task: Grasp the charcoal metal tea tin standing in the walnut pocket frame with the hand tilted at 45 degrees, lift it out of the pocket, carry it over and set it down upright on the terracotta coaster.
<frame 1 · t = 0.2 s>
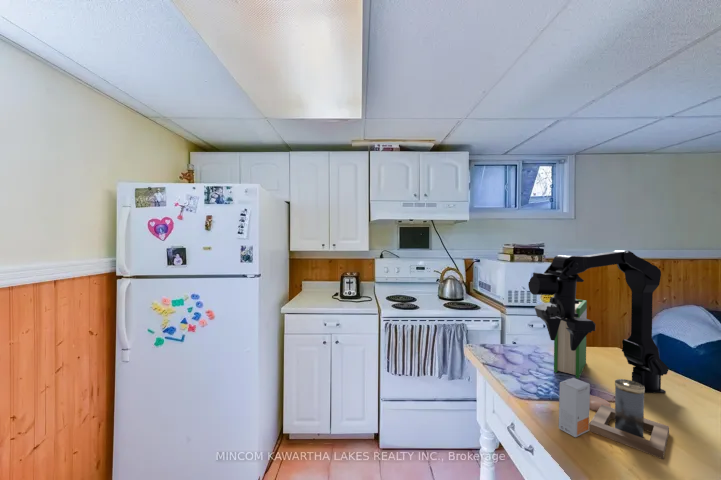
hand: (562, 345, 99), 14 cm above the table, tool pointing down, fingers open, 9 cm apart
skincare box: (574, 430, 79), on the table
tea tin: (629, 408, 78), in the pocket frame
coaster: (593, 404, 91), on the table
pocket frame: (628, 432, 78), on the table
hardback book: (570, 367, 117), on the table
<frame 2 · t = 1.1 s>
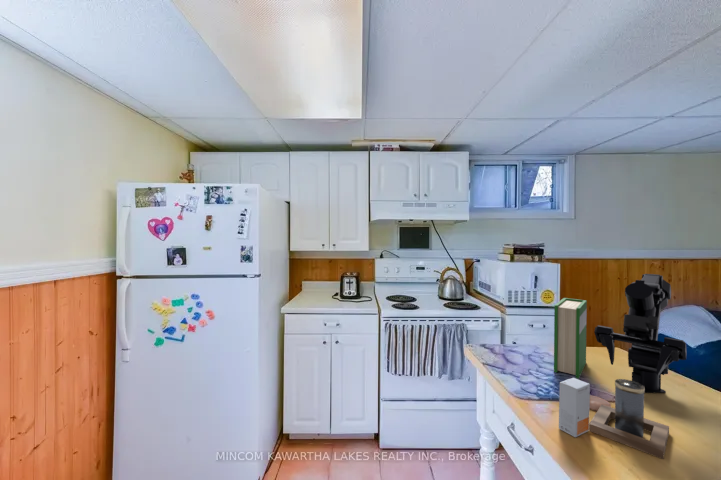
hand: (633, 369, 83), 13 cm above the table, tool tilted 45°, fingers open, 9 cm apart
nothing on the table moved.
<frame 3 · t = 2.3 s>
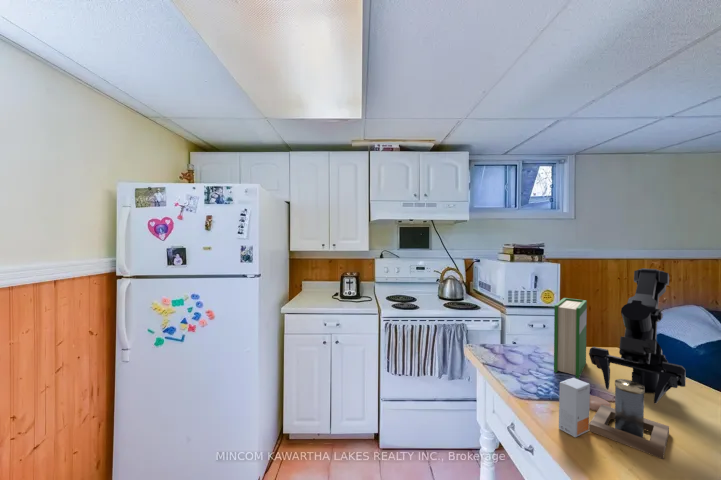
hand: (629, 395, 79), 9 cm above the table, tool tilted 45°, fingers open, 9 cm apart
nothing on the table moved.
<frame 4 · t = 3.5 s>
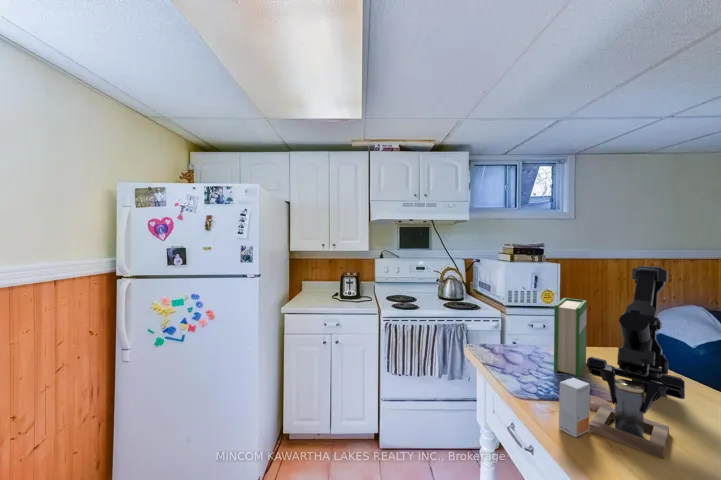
hand: (628, 407, 77), 7 cm above the table, tool tilted 45°, fingers closed on tea tin, 5 cm apart
tea tin: (629, 408, 78), in the pocket frame, touching gripper
everything else where it was.
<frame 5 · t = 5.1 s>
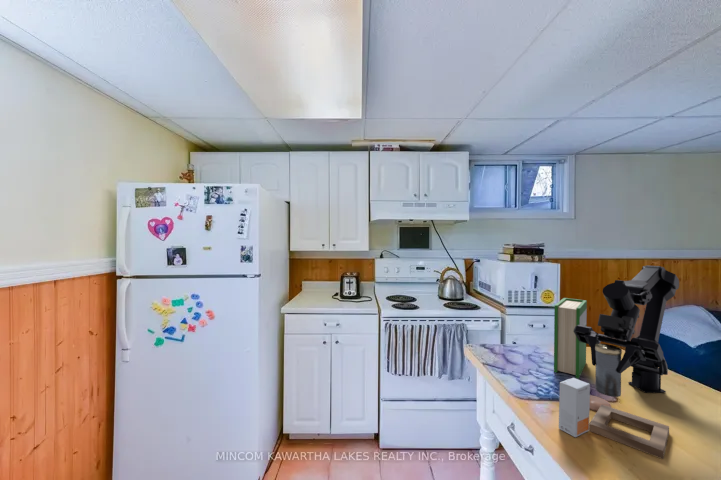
hand: (605, 368, 84), 13 cm above the table, tool tilted 45°, fingers closed on tea tin, 5 cm apart
tea tin: (608, 369, 85), point 13 cm above the table, touching gripper
everything else where it was.
when the fingers open (8 cm above the table, at t = 7.0 s): tea tin stays where it is, resting on coaster.
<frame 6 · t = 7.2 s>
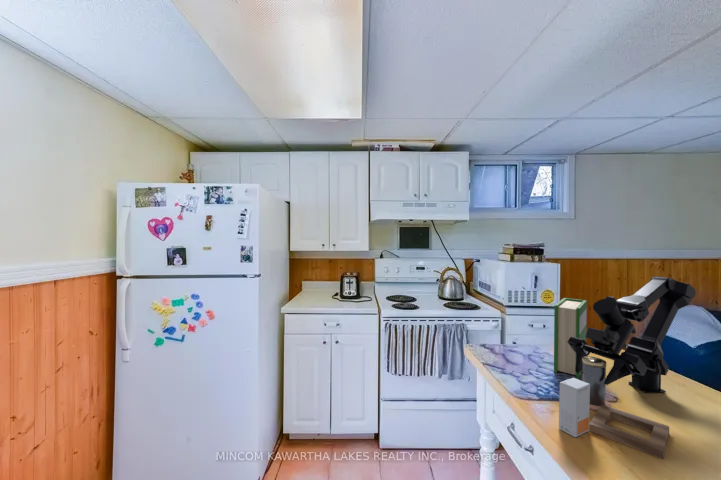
hand: (590, 377, 91), 8 cm above the table, tool tilted 45°, fingers open, 8 cm apart
tea tin: (593, 380, 91), on the coaster, point 7 cm above the table
everything else where it was.
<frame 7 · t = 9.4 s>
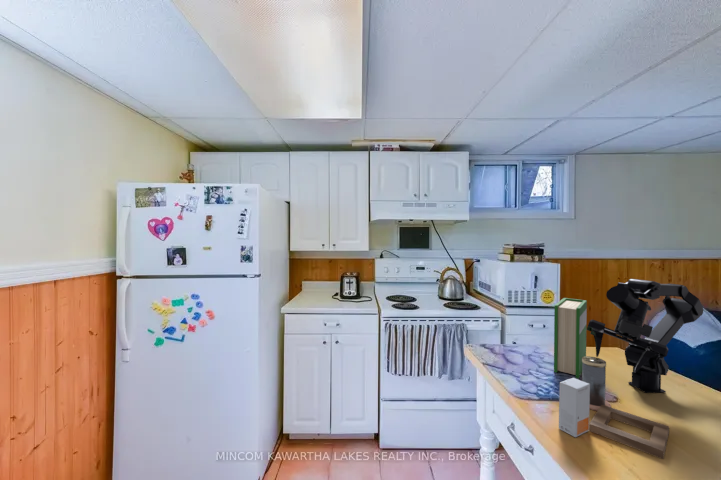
hand: (615, 364, 94), 10 cm above the table, tool tilted 30°, fingers open, 9 cm apart
nothing on the table moved.
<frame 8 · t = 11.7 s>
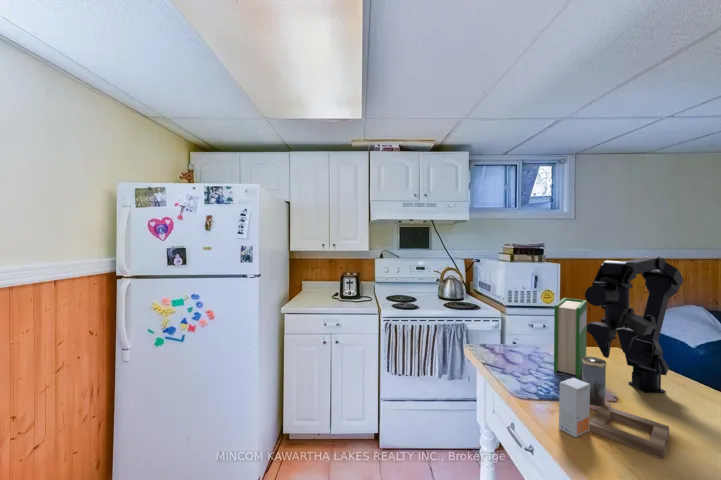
hand: (616, 355, 94), 13 cm above the table, tool pointing down, fingers open, 9 cm apart
nothing on the table moved.
at the end: tea tin inside the target area on the coaster (0.0 cm from its centre), point 6.8 cm above the coaster's base; tea tin tilted 0°; the gripper is holding nothing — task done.
